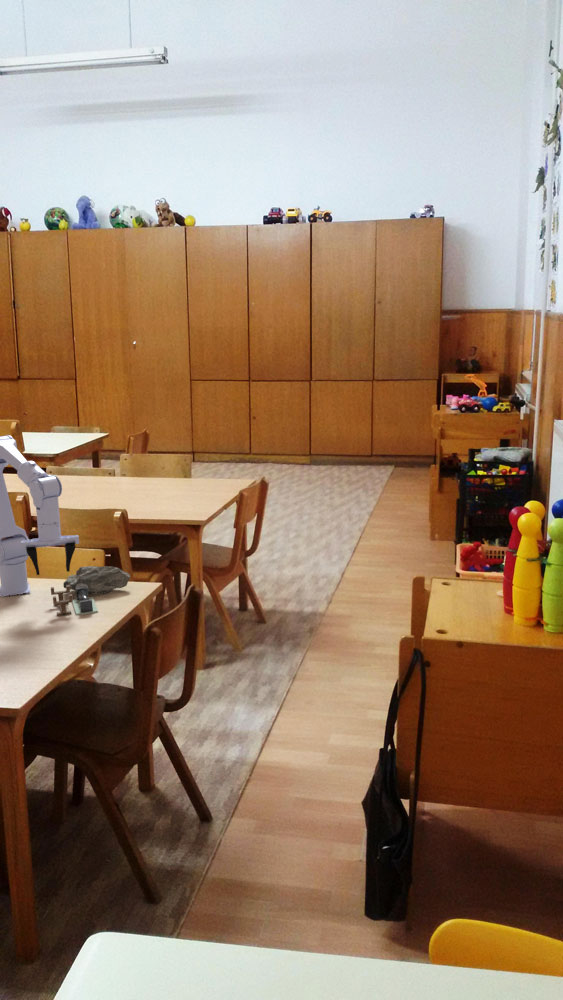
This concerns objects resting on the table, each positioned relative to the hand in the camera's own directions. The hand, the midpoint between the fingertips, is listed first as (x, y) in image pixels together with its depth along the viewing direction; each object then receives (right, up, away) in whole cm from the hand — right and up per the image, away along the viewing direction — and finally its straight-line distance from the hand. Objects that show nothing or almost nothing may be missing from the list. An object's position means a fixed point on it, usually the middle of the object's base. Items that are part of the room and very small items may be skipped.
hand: (53, 572), depth 213 cm
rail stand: (+3, -10, -1) cm, 10 cm away
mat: (+8, -9, +1) cm, 12 cm away
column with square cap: (+8, -9, +1) cm, 12 cm away
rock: (+9, -7, +14) cm, 18 cm away
